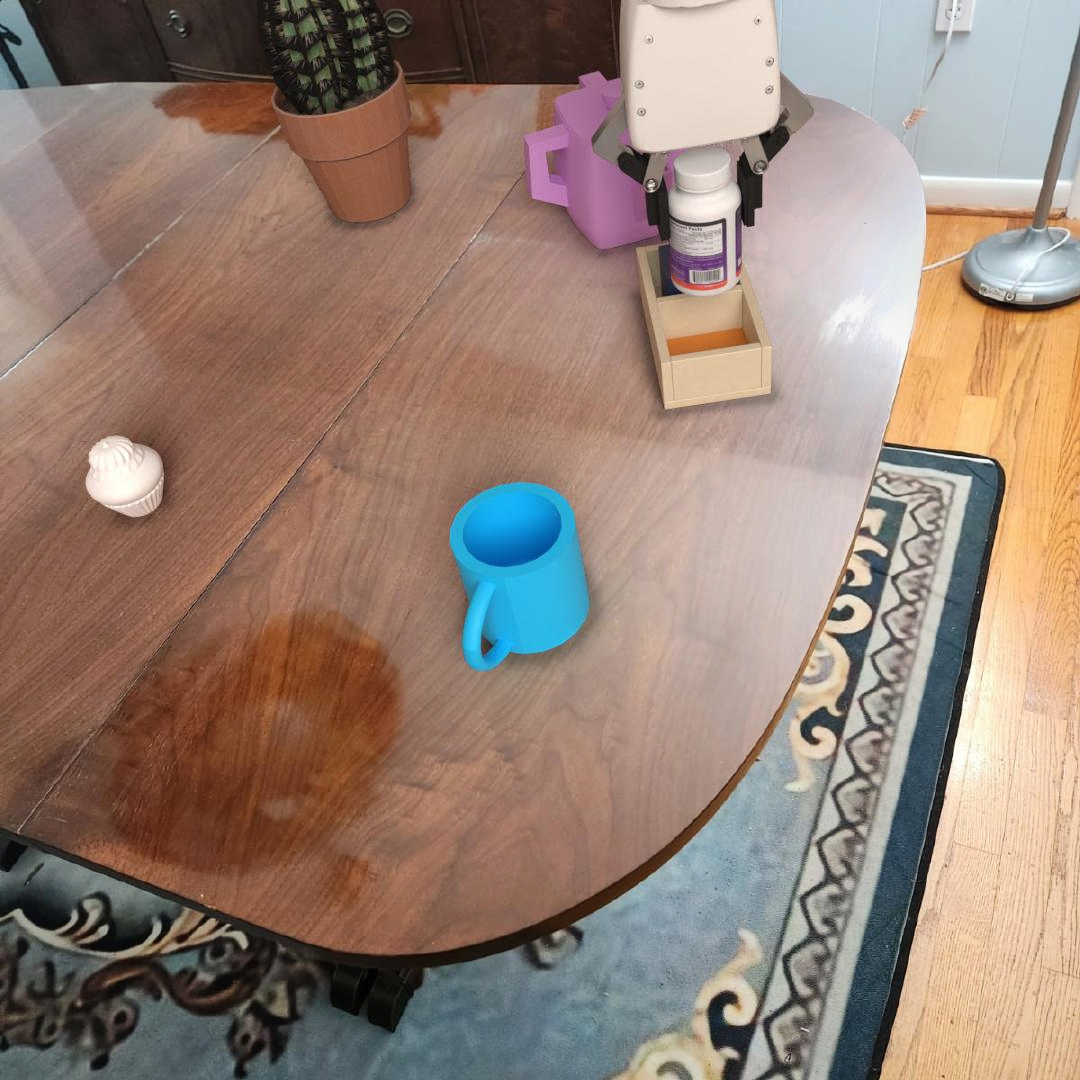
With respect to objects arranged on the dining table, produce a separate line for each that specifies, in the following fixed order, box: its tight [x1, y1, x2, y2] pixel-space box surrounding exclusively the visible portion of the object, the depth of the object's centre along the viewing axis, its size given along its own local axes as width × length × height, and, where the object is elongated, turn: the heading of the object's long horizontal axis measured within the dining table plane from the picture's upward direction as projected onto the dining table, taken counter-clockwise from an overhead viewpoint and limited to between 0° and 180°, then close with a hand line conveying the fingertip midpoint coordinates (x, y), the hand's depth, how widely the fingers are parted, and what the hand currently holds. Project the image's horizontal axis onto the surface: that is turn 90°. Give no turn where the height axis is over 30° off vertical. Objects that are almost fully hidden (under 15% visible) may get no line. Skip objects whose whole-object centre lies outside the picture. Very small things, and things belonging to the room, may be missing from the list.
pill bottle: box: [668, 145, 743, 297], centre depth 74 cm, size 5×5×10 cm
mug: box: [449, 481, 591, 672], centre depth 66 cm, size 12×8×8 cm
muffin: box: [85, 434, 165, 518], centre depth 81 cm, size 6×6×7 cm
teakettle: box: [522, 70, 709, 251], centre depth 98 cm, size 17×17×12 cm
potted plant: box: [256, 0, 413, 224], centre depth 102 cm, size 14×14×25 cm
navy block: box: [658, 244, 684, 297], centre depth 87 cm, size 5×5×5 cm
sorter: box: [635, 242, 773, 411], centre depth 85 cm, size 9×16×5 cm, turn 3°
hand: (704, 221), depth 74 cm, fingers closed on pill bottle, 5 cm apart
